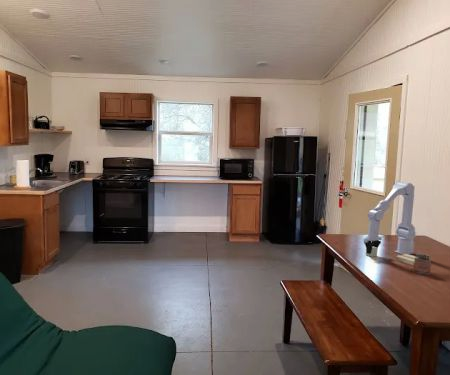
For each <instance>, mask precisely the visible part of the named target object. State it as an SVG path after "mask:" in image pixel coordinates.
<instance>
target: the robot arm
mask: <svg viewBox="0 0 450 375" xmlns="http://www.w3.org/2000/svg"><path fill="white" fill-rule="evenodd" d="M398 196H402V197H403V203H402V214H401V222H400V223H398V225H397V227H396V228H397V229H396V231H395V233H396V236H397V238H398V242H397V248H396V249H397V250H394V252H395V253H398V254H399V255H403V254H409V255H413V254H415V252H414V248H415V241H414V239H415V238H416V227H415V226H414V225H413V224H412V219H413V208H414V202H415V201H414V200H415V186H414V184H413V183H410V182H409V183H408V182H404V181H403V182H402V181H396V182H395V183H394V185H392V189H391V191H390V192H389V194H388V195H387V196H386V198H385V199H382V200H380V201H379V202H378V204H377V205H376V206H374V208H372V209H371V210H369V211H368V214H367V218H368V222H369V224H368V233H367V235H366V236H365V238H363V243H364V245H365V251H366V250H367V253H368V254H371V250H372V247H373V246H374V247H377V248H379V246H380V245H381V243H382V240H383V237H382V236H379V234H380V225H381V224H380V223H381V220H383V218H384V215H385V213H386V211H388V209H389V208H390V206H391V205H390V204H391V203H392V202H393V201H394V200H396V198H397V197H398Z"/></svg>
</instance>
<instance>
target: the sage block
mask: <svg viewBox="0 0 450 375" xmlns="http://www.w3.org/2000/svg"><path fill="white" fill-rule="evenodd" d="M378 248H379V247H378ZM378 248H377V247H374V246H373V247H372V250H371V254H368V253H367V250H366V249H365V256H368V257H371V258H374V257H377V256H378Z"/></svg>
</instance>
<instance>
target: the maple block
mask: <svg viewBox="0 0 450 375" xmlns="http://www.w3.org/2000/svg"><path fill="white" fill-rule="evenodd" d="M395 257H396V258H395V261H396V260H397V262H399V261H400V262H399V263H404V264H406V265H409V266H413V267H414V261H415V259H414V258H415V257H416V256H415V255H413V254H398V255H396V256H395Z"/></svg>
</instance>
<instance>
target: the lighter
mask: <svg viewBox="0 0 450 375" xmlns="http://www.w3.org/2000/svg"><path fill="white" fill-rule="evenodd" d="M414 259H415V261H414V265H413V269H412V272H413V273H416V274H421V275H429V276H430V275H431V265H432V262H433V261H432V259H430V255H429V254H426V253H423V254H422V253H418V252H417V253H416V256H415V258H414Z"/></svg>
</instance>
